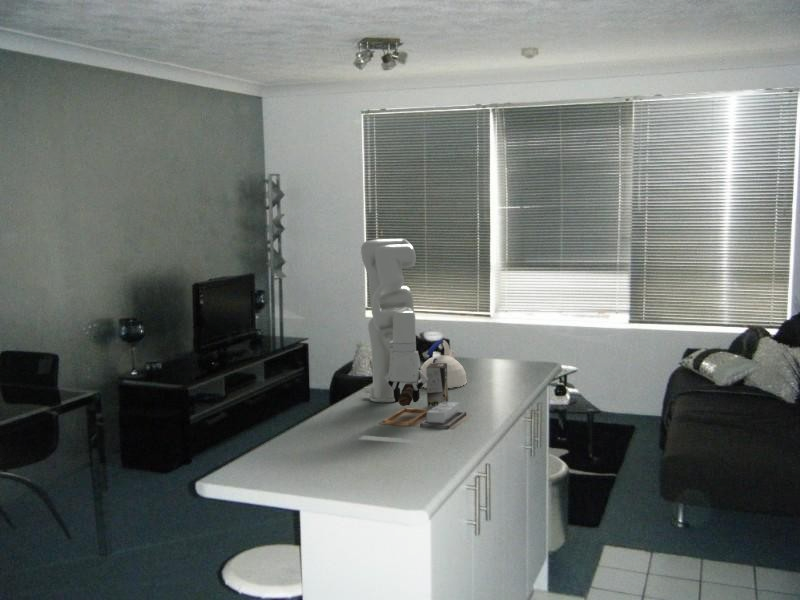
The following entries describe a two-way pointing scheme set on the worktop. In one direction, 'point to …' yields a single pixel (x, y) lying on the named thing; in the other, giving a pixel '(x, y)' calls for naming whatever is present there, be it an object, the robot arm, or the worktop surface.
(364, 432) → the worktop surface
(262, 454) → the worktop surface
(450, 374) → the kettle
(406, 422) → the wooden tray
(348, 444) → the worktop surface
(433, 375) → the coffee box
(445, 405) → the bar
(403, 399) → the bolt
